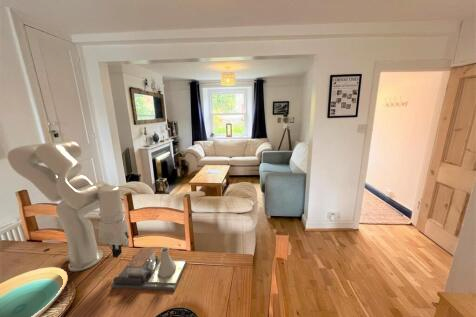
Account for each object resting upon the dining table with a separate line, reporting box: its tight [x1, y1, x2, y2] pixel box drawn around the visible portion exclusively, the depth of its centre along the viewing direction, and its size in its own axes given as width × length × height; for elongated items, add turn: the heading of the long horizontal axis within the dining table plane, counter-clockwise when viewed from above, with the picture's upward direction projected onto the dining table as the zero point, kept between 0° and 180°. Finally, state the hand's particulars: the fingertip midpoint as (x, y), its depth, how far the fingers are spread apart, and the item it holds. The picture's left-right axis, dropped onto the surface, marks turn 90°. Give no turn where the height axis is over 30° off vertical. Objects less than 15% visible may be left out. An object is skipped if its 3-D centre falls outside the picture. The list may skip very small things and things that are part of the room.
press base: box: [110, 254, 188, 292], centre depth 80 cm, size 25×14×4 cm, turn 86°
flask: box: [158, 247, 176, 277], centre depth 78 cm, size 7×7×10 cm
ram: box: [125, 247, 156, 281], centre depth 79 cm, size 8×10×7 cm
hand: (117, 255), depth 81 cm, fingers closed
